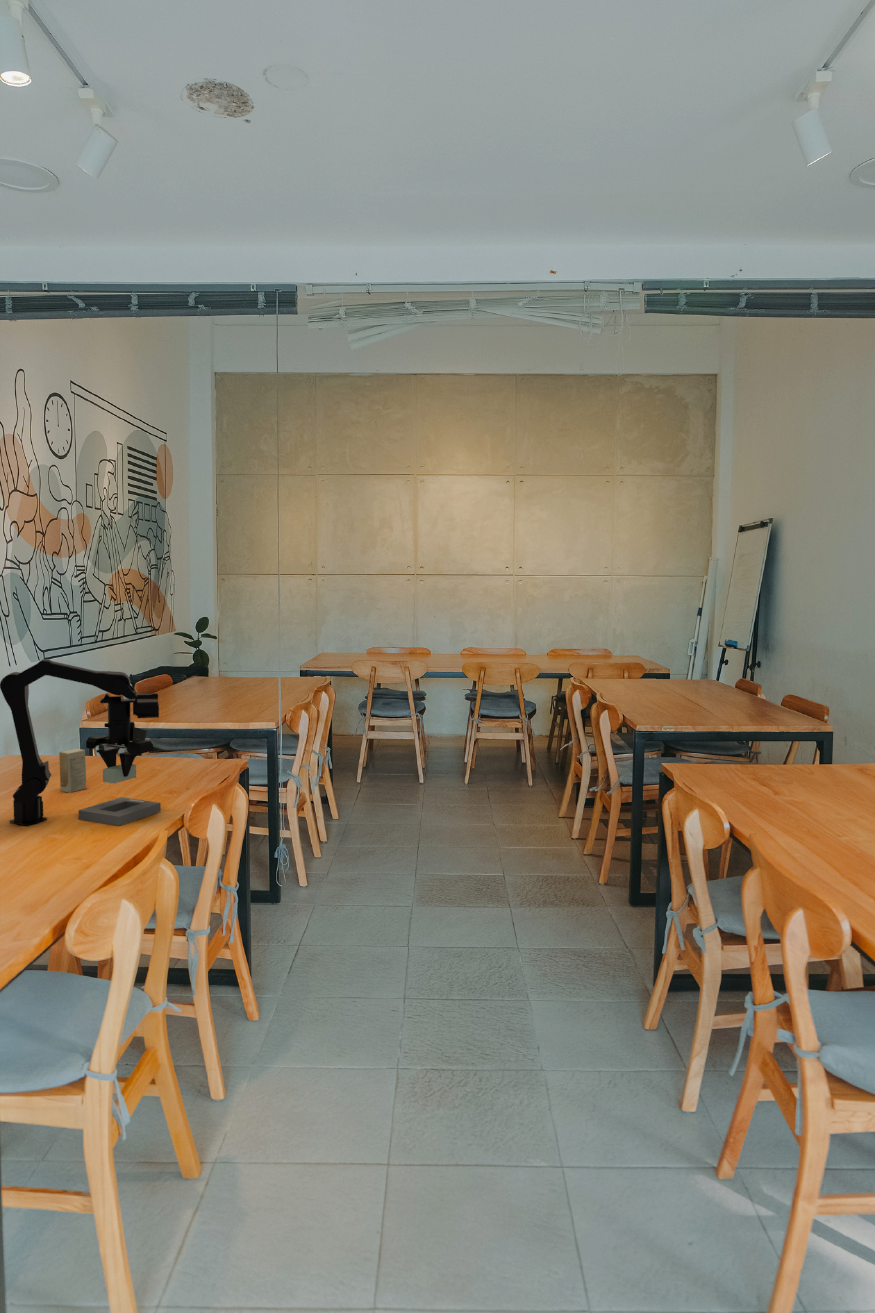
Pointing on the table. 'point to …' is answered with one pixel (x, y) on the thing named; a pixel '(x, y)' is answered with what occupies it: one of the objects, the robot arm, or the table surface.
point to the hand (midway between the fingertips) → (119, 775)
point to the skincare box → (72, 770)
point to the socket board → (119, 811)
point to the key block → (117, 774)
